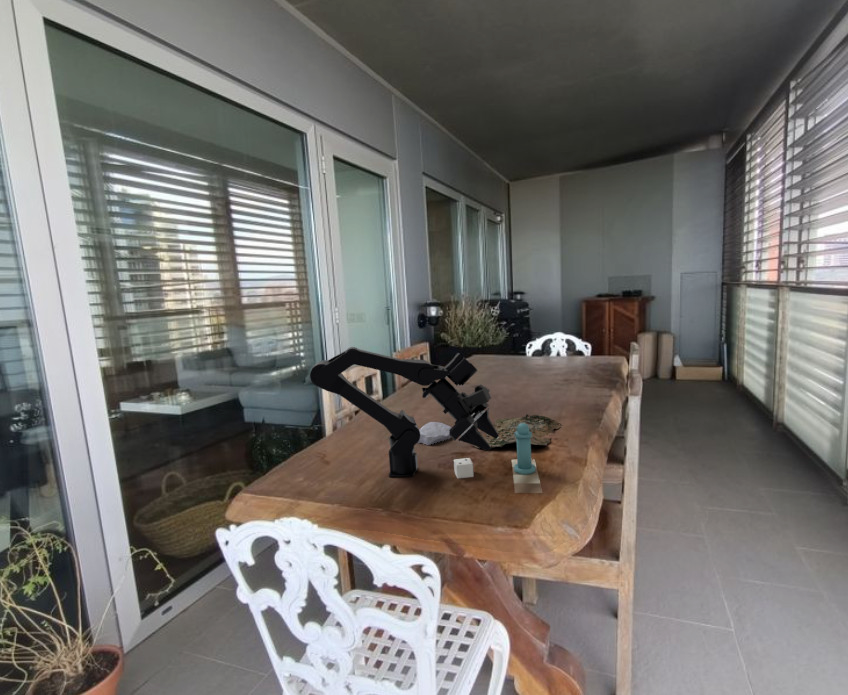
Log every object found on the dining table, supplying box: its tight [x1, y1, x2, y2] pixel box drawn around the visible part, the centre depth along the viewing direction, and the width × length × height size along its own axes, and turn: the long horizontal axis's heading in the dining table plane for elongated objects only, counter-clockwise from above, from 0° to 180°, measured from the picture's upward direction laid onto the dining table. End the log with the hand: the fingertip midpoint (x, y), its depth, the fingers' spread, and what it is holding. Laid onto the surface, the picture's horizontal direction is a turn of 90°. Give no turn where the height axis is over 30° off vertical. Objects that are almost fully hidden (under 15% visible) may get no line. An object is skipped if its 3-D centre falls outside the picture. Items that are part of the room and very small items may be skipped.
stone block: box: [416, 421, 452, 446], centre depth 146 cm, size 12×5×10 cm
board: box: [511, 458, 543, 494], centre depth 113 cm, size 6×20×1 cm, turn 172°
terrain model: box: [473, 414, 562, 449], centre depth 145 cm, size 31×25×5 cm
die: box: [453, 457, 474, 479], centre depth 116 cm, size 4×4×4 cm
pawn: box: [514, 423, 536, 475], centre depth 115 cm, size 5×5×12 cm
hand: (493, 443), depth 117 cm, fingers open, 9 cm apart
